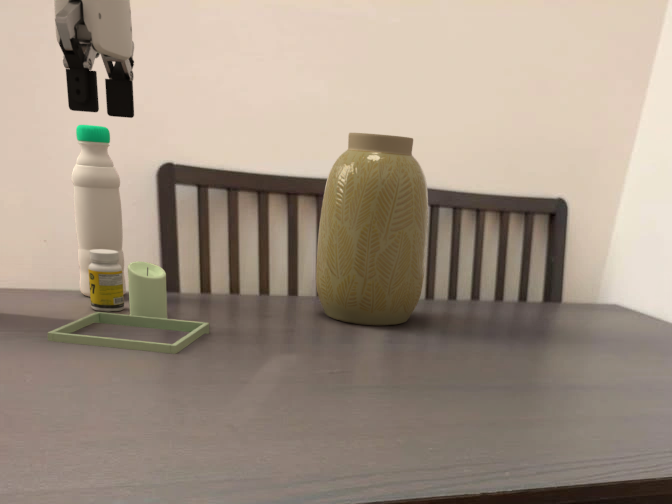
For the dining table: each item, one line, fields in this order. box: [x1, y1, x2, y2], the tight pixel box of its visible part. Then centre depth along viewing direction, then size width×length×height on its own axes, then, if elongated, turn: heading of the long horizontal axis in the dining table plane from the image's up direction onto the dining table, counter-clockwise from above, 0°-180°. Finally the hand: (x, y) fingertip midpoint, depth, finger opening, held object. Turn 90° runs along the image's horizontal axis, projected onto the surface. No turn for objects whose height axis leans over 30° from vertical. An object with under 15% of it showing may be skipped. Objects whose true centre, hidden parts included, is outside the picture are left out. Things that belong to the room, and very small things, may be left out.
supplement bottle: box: [88, 249, 125, 313], centre depth 108 cm, size 5×5×8 cm
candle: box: [127, 260, 168, 319], centre depth 101 cm, size 5×5×8 cm
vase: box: [315, 132, 429, 327], centre depth 114 cm, size 17×17×27 cm
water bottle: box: [71, 124, 127, 298], centre depth 114 cm, size 7×7×25 cm
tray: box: [47, 311, 210, 355], centre depth 90 cm, size 15×13×2 cm
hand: (103, 114), depth 84 cm, fingers open, 9 cm apart
